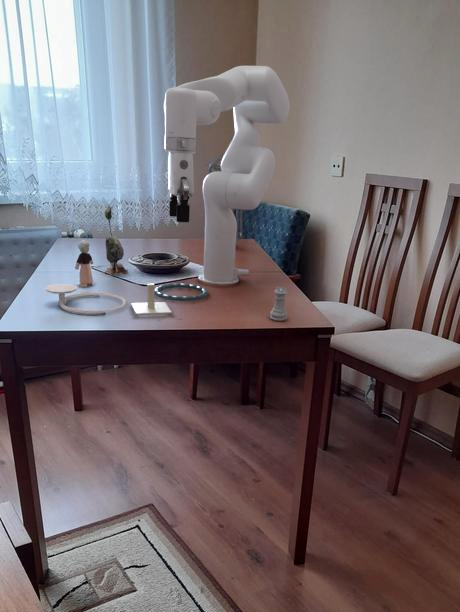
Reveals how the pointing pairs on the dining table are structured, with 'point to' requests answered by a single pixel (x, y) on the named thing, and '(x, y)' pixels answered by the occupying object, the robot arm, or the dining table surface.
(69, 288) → the hand towel holder
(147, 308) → the post
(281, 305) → the rook chess piece
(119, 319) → the dining table surface
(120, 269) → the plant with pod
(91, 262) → the grandmother figurine
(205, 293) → the ring
